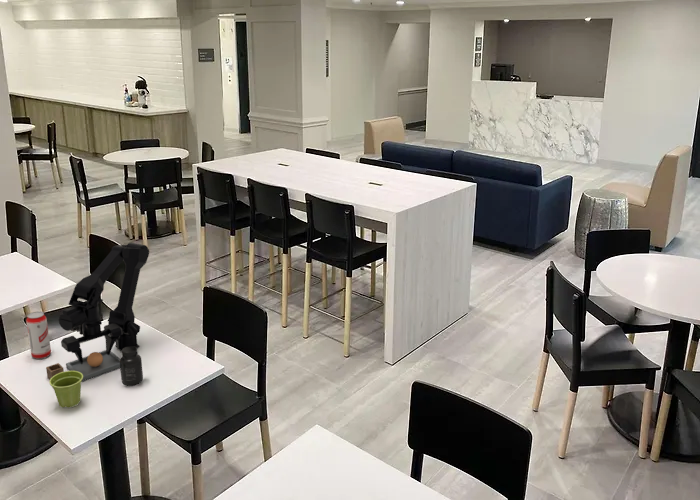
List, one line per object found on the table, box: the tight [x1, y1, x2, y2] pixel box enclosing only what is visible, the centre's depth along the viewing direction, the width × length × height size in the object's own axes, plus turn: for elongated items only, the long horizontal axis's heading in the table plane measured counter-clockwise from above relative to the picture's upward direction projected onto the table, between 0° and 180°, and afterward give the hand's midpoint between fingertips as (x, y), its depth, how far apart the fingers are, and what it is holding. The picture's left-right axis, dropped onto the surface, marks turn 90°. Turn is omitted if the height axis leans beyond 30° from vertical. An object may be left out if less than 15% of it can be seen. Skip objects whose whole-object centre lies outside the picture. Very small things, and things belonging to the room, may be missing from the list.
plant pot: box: [48, 370, 83, 409], centre depth 186 cm, size 9×9×9 cm
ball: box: [87, 351, 103, 367], centre depth 206 cm, size 5×5×5 cm
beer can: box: [25, 311, 52, 360], centre depth 211 cm, size 6×6×16 cm
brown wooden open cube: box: [45, 362, 65, 381], centre depth 200 cm, size 4×4×4 cm
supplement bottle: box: [119, 346, 144, 387], centre depth 198 cm, size 7×7×12 cm
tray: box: [65, 349, 121, 383], centre depth 207 cm, size 15×12×2 cm
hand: (94, 359), depth 206 cm, fingers open, 9 cm apart
